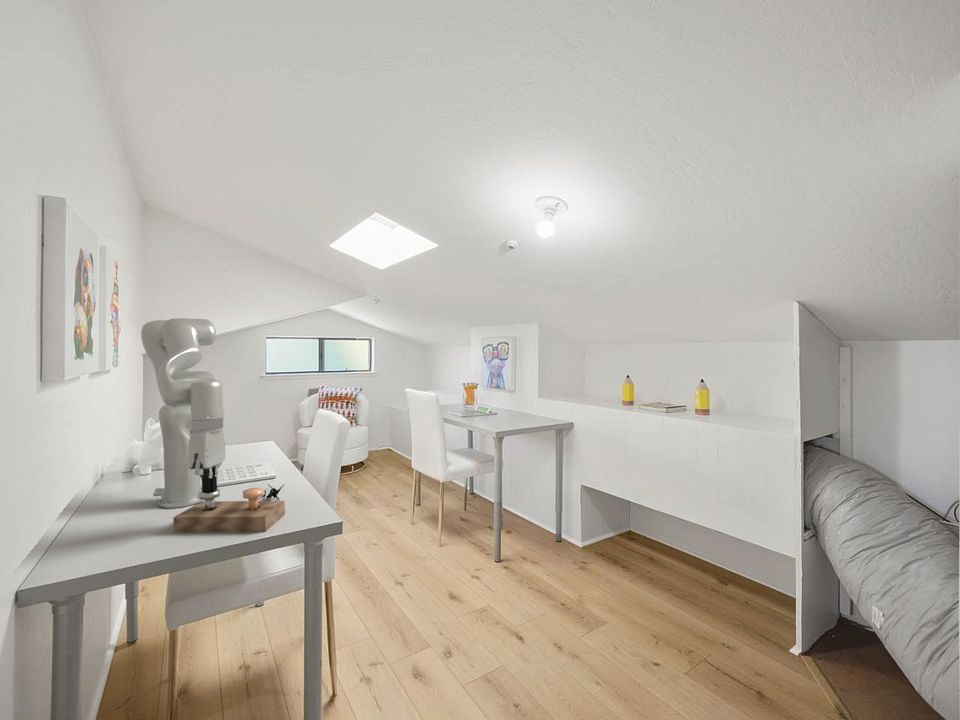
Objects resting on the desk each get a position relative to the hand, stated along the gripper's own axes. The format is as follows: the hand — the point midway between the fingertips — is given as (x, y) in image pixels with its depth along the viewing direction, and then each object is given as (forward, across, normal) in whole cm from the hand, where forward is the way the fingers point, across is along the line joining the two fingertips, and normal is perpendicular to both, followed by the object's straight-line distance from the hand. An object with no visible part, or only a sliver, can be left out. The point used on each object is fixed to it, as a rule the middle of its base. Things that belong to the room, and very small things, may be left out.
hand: (209, 491), depth 125 cm
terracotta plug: (+5, 0, +12) cm, 13 cm away
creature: (+9, -17, +8) cm, 21 cm away
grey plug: (+5, 0, 0) cm, 5 cm away
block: (+9, 0, +6) cm, 11 cm away
